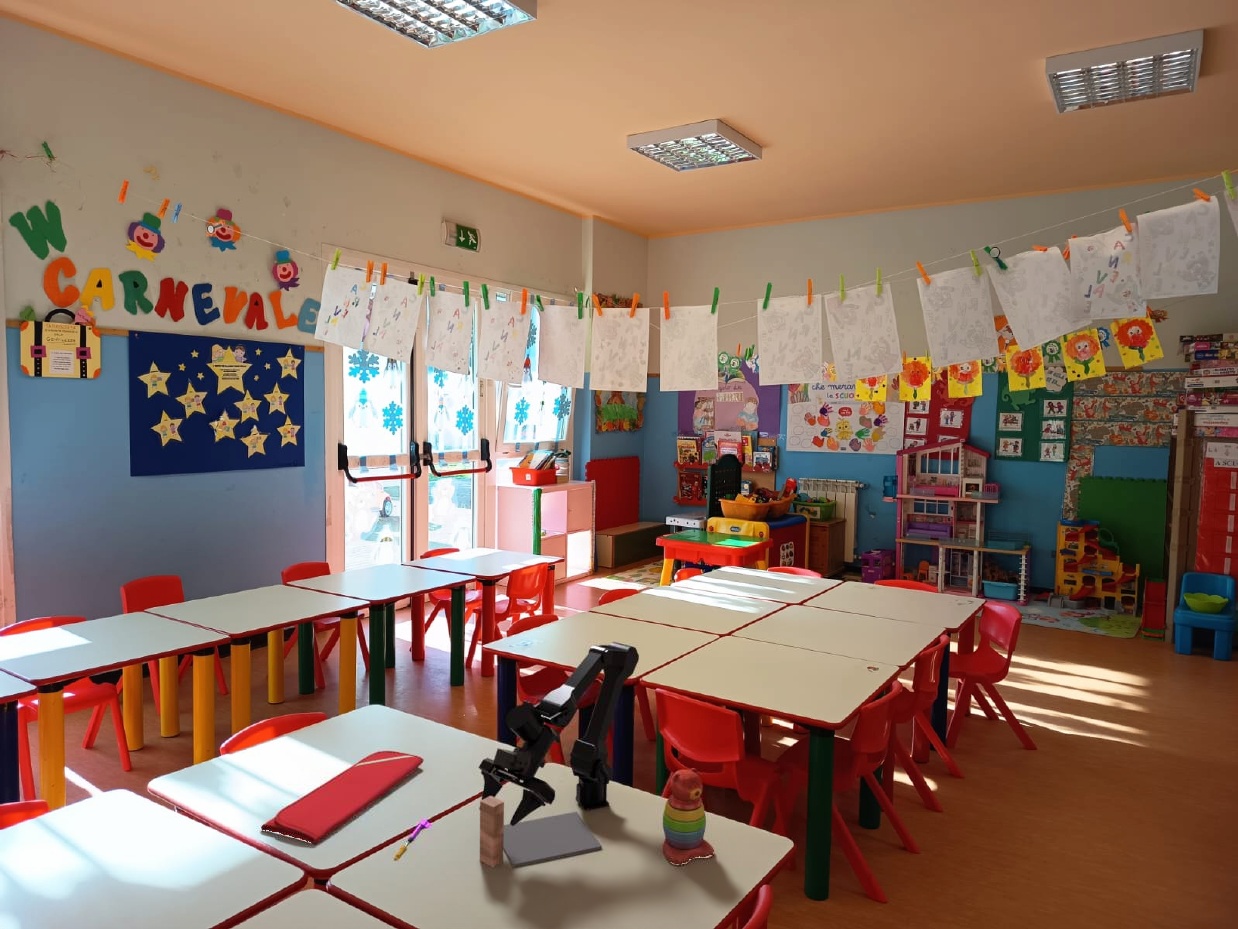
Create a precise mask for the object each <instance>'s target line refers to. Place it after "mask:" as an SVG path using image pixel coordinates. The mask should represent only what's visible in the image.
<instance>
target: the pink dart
mask: <svg viewBox="0 0 1238 929" xmlns="http://www.w3.org/2000/svg"><path fill="white" fill-rule="evenodd" d="M432 825H433V823H430V822H428V820H427V819H426V818H422V819H421V821H420V822H419V823H418V825H417V827H416V828H415V829H414V830H413V832H412V833H411V835H410V836H409V837H408V839H407V842H406V844H405V845H404V844H403V845H402V846H401V847H400V848H399V850H398V852H397V853H396V854H395V856H394V858H393V860H396V861H398V859H400V858H401V856H402V855H403V854H404V852H406V850H407V845H409V843H411V842H413V841H414V839H415V838H416V837H417V835H418V834H419V832H420V831H421V830H422V829H423V828H424V829H426V828H427V829H430V828H431V827H432Z"/></svg>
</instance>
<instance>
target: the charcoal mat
mask: <svg viewBox="0 0 1238 929" xmlns="http://www.w3.org/2000/svg"><path fill="white" fill-rule="evenodd" d="M601 849H602V850H603V845H602V844H601V842H599V840H598V838H597V837H596V836H595V835H594V833H593V832H592V831H591V828H589V827H588V824H586V822H585V820H583V818H582V817H581V816H580V813H578V812H577V811H573V812H569V813H568V812H567V813H563V814H558V815H551V816H546V817H541V818H536V819H535V818H534V819H530V820H525V821H519V822H518V823H517V824H515V825H514V826H512V825H510V823H509V824H504V844H503V852H504V853H505V855H506V857H507V859H508V861H509V863H510V865H511V866H512V868H515V867H516V866H517V867H521V866H525V865H530V864H535V863H540V862H545V861H550V860H555V859H559V858H563V857H564V858H565V857H569V856H574V855H578V854H584V853H587V852H589V853H590V852H593V851H598V850H601ZM517 867H516V868H517Z"/></svg>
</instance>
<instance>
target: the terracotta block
mask: <svg viewBox="0 0 1238 929" xmlns="http://www.w3.org/2000/svg"><path fill="white" fill-rule="evenodd" d="M479 808H480V810H479V816H480V817H479V861H480V862H482V863H484V864H486V865H488V866H490V867H492V868H494V867H497V865H499V864H501V863H503V862H504V849H503V844H504V825H505V822H504V821H505V802H504V800H501V799H499V798H496V796H495V797H492V796H489V797H487V798H485V799H483V800H480V802H479Z"/></svg>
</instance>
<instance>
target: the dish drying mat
mask: <svg viewBox="0 0 1238 929" xmlns="http://www.w3.org/2000/svg"><path fill="white" fill-rule="evenodd" d="M423 762H424V758H423V757H421V756H418V755H415V754H411V753H406V752H400V751H393V750H381V751H376V752H374V753H370V754H369V755H367V756H366V757H363V758H362V759H361V760H359V761H357V762H356V763H355V764H353V765H351V766H350V767H348V768H346V769H345V770H343V771H342V772H341V773H339V774H337V775H336V776H333V777H332V778H330V779H329V780H328V781H326V782H324V783H322V784H321V785H320V786H318V787H316V788H315V789H313V790H312V791H310V792H308V793H307V794H305V795H303V796H302V797H300V798H299V799H297V800H295V801H294V802H292V803H290V804H288V805H286V806H285V807H283V808H281V809H280V810H279V811H278V812H277V814H276V815H275V816H273V818H271V819H269V820H268V821H267V822H265V823H263V824H262V825H261V826H260V828H261V829H262V830H265V831H266V830H269V831H272V832H279V833H281V834H283V835H289V836H292V837H294V838H300V839H302V840H306V841H307V842H308V841H309V842H311V843H313V844H314V845H316V844H317V843H319V842H320V841H322V840H323V839H325V838H326V837H327V836H329V835H330V834H332V833H333V832H334V831H336V830H337V829H338V828H340V827H341V826H344V825H345V824H346V823H347V822H349V820H351V819H353V818H354V817H356V815H359V813H360V812H362V811H364V810H365V809H367V808H368V807H370V805H372V804H373V803H374V802H375V801H377V800H378V799H380V798H381V797H382V796H384V795H385V794H386V793H388V792H389V791H391V790H393V788H394V787H396V786H397V785H398V784H400V783H401V782H402V781H403V780H404V779H405V780H406V778H407V777H408V776H409V775H411V774H412V773H413V772H415V771H416V770H417V769H418V768H419V767H420V766H421V765H422V764H423ZM262 830H261V831H262ZM324 837H325V838H324ZM321 839H322V840H321ZM315 843H316V844H315ZM313 844H312V845H313Z"/></svg>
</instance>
